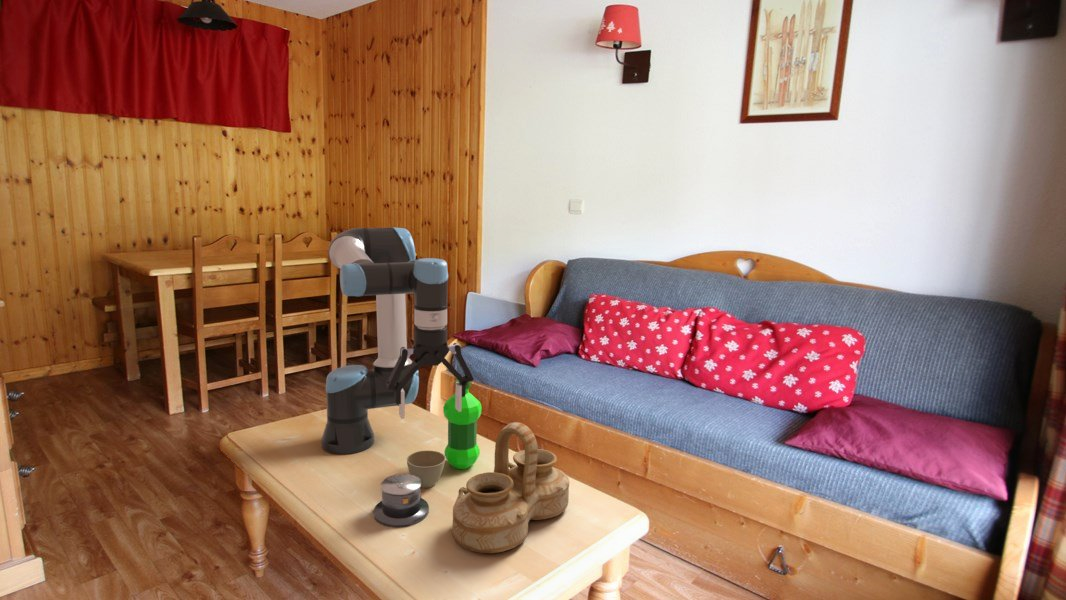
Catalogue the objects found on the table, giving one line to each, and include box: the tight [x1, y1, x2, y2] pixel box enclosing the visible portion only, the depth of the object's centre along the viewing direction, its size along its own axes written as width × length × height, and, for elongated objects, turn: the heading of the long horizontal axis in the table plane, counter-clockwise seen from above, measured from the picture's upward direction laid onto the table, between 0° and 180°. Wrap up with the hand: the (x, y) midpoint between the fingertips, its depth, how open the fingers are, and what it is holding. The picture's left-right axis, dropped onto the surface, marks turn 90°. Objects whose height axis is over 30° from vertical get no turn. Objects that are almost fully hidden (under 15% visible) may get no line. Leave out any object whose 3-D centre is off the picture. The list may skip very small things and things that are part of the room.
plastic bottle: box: [442, 378, 482, 470], centre depth 171 cm, size 10×10×25 cm
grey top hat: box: [373, 473, 430, 528], centre depth 148 cm, size 13×13×8 cm
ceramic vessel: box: [451, 421, 570, 554], centre depth 145 cm, size 34×18×25 cm, turn 145°
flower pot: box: [406, 450, 446, 489], centre depth 162 cm, size 10×10×7 cm
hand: (430, 413), depth 146 cm, fingers open, 13 cm apart
